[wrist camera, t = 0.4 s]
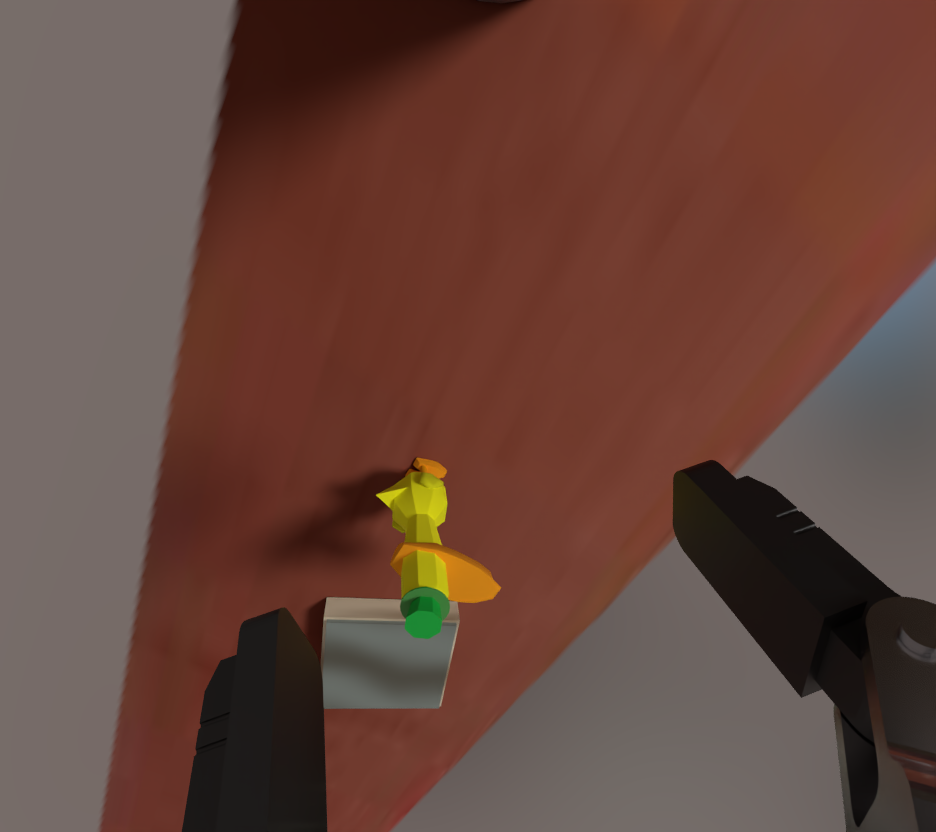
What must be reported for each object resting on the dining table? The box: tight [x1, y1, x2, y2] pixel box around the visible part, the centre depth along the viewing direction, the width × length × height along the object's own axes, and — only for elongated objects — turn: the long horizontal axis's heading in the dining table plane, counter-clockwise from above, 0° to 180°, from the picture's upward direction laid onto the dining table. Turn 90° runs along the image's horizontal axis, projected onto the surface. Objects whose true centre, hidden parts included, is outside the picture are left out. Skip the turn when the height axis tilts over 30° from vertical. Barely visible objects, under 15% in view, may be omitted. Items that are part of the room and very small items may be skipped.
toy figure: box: [376, 458, 501, 639], centre depth 27 cm, size 7×4×12 cm, turn 59°
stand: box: [321, 597, 460, 709], centre depth 38 cm, size 9×9×2 cm
